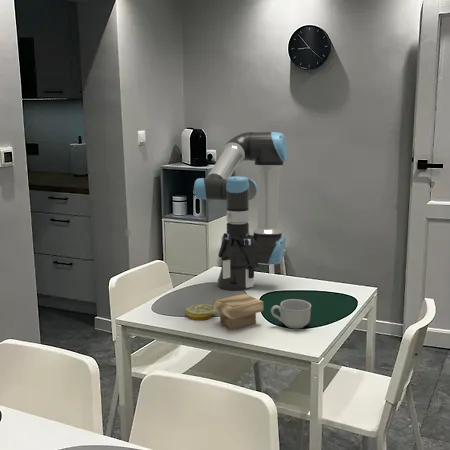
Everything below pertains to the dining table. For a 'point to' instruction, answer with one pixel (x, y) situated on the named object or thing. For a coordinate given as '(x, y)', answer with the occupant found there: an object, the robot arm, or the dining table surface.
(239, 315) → the cover board
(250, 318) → the brown rectangular block
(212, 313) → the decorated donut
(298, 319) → the teacup
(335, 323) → the dining table surface
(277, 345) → the dining table surface
